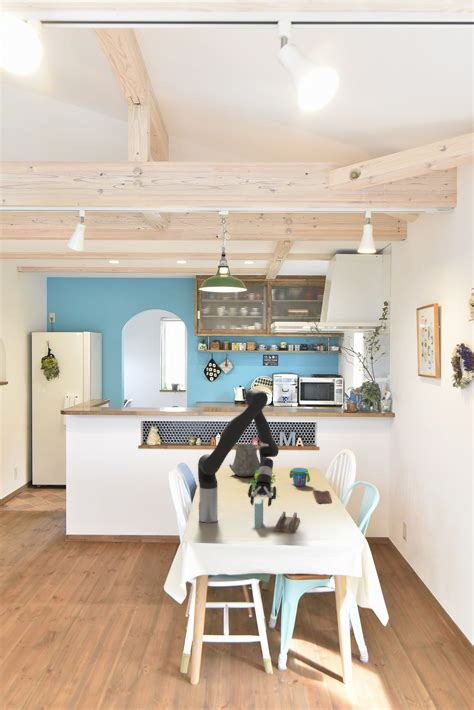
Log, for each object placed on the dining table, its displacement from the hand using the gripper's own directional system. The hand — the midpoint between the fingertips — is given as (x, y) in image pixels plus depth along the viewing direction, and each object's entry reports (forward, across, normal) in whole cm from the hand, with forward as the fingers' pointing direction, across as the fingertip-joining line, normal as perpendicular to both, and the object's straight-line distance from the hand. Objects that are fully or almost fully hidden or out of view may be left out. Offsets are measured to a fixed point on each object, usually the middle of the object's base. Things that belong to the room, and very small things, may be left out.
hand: (260, 505), depth 272 cm
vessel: (-60, -29, +73) cm, 99 cm away
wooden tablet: (-30, +27, +45) cm, 60 cm away
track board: (+7, +14, +6) cm, 16 cm away
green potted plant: (-37, -12, +50) cm, 63 cm away
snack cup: (-47, +10, +61) cm, 78 cm away
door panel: (+9, 0, +4) cm, 10 cm away
